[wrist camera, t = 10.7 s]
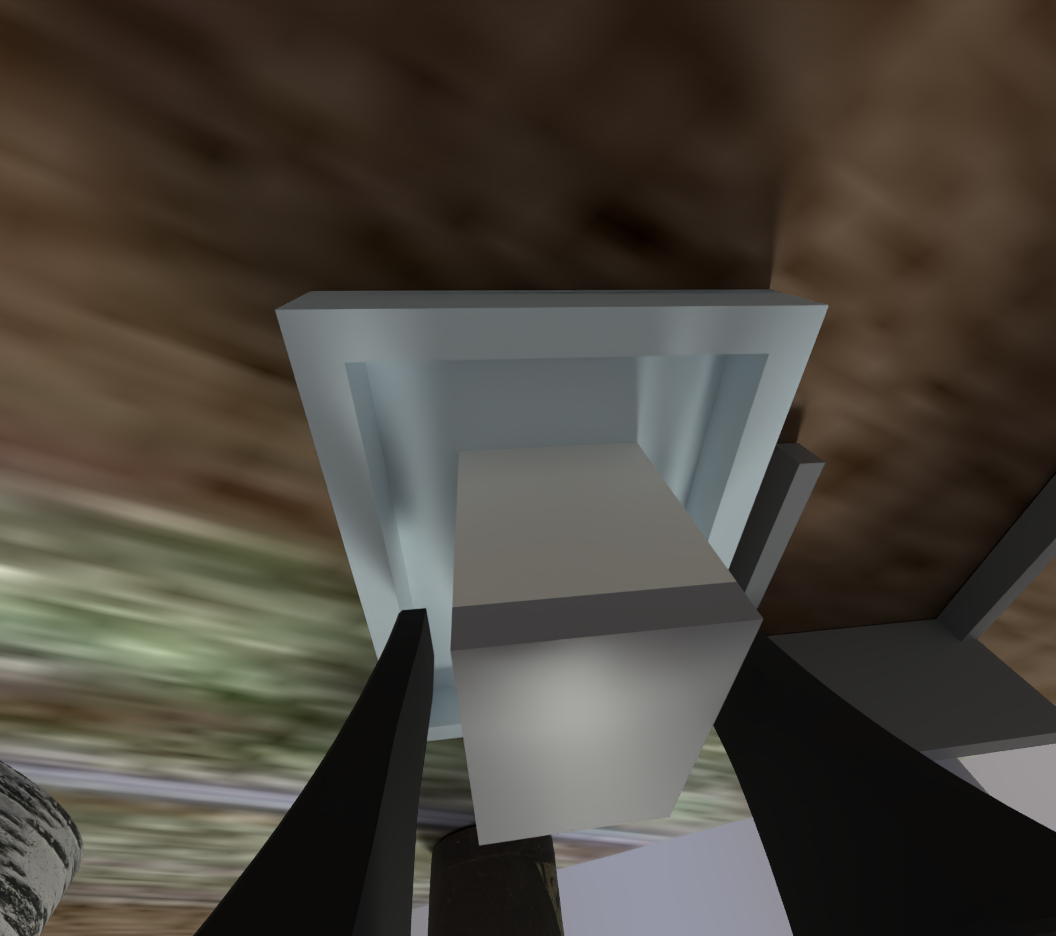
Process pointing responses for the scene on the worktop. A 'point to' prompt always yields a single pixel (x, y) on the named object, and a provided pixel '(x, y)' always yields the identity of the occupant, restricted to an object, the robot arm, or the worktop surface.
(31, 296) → the worktop surface
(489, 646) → the block
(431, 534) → the tray
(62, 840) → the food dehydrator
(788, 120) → the worktop surface
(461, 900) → the container
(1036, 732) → the bay
